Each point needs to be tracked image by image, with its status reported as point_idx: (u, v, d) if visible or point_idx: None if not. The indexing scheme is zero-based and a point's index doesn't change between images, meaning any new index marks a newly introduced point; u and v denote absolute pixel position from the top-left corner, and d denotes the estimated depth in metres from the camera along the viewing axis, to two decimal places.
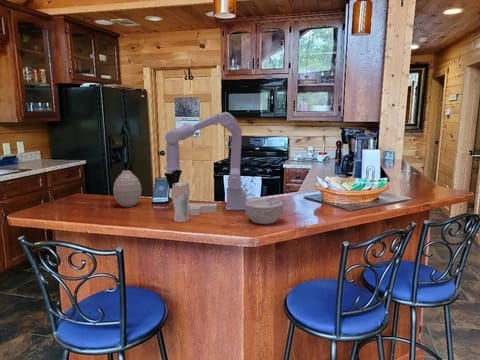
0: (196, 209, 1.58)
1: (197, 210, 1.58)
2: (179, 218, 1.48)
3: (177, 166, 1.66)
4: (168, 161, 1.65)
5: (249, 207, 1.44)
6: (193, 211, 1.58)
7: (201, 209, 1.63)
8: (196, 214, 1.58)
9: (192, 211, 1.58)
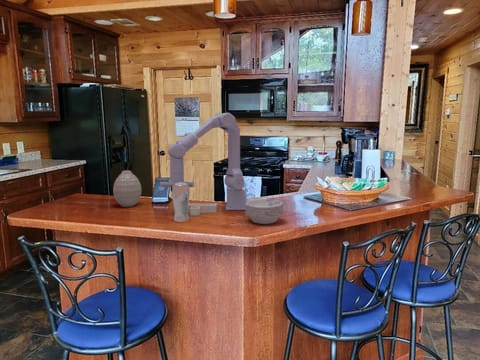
0: (196, 209, 1.58)
1: (197, 210, 1.58)
2: (179, 218, 1.48)
3: (172, 182, 1.56)
4: None
5: (249, 207, 1.44)
6: (193, 211, 1.58)
7: (201, 209, 1.63)
8: (196, 214, 1.58)
9: (192, 211, 1.58)
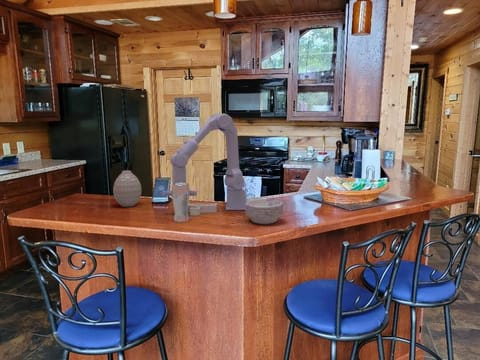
0: (196, 209, 1.58)
1: (197, 210, 1.58)
2: (179, 218, 1.48)
3: None
4: None
5: (249, 207, 1.44)
6: (193, 211, 1.58)
7: (201, 209, 1.63)
8: (196, 214, 1.58)
9: (192, 211, 1.58)
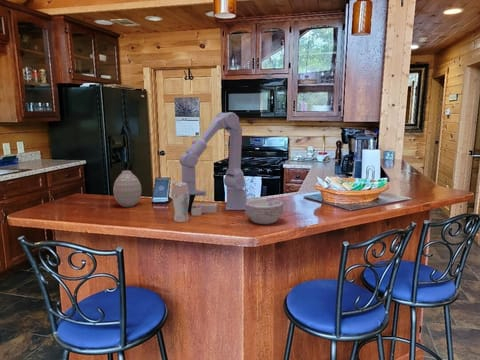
0: (198, 209, 1.58)
1: (199, 210, 1.58)
2: (179, 218, 1.48)
3: None
4: None
5: (249, 207, 1.44)
6: (195, 211, 1.58)
7: None
8: (198, 214, 1.58)
9: (194, 211, 1.58)
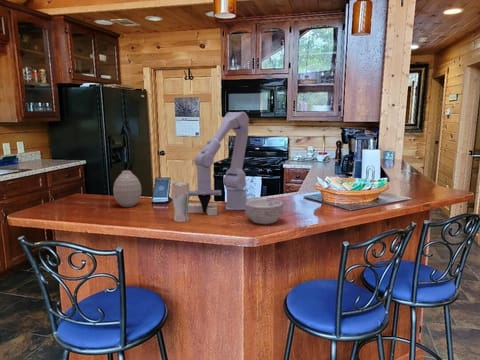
0: (213, 209, 1.58)
1: (214, 210, 1.58)
2: (179, 218, 1.48)
3: (200, 191, 1.56)
4: None
5: (249, 207, 1.44)
6: (210, 211, 1.58)
7: (201, 209, 1.63)
8: (213, 214, 1.58)
9: (209, 211, 1.58)
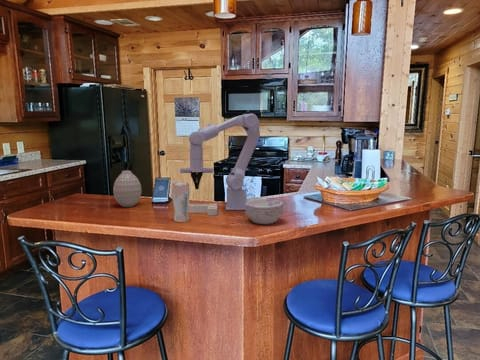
0: (213, 209, 1.58)
1: (214, 210, 1.58)
2: (179, 218, 1.48)
3: (192, 168, 1.62)
4: None
5: (249, 207, 1.44)
6: (210, 211, 1.58)
7: (201, 209, 1.63)
8: (213, 214, 1.58)
9: (209, 211, 1.58)
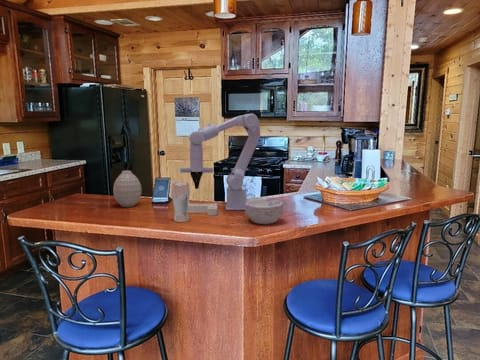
0: (213, 209, 1.58)
1: (214, 210, 1.58)
2: (179, 218, 1.48)
3: (192, 167, 1.63)
4: None
5: (249, 207, 1.44)
6: (210, 211, 1.58)
7: (201, 209, 1.63)
8: (213, 214, 1.58)
9: (209, 211, 1.58)
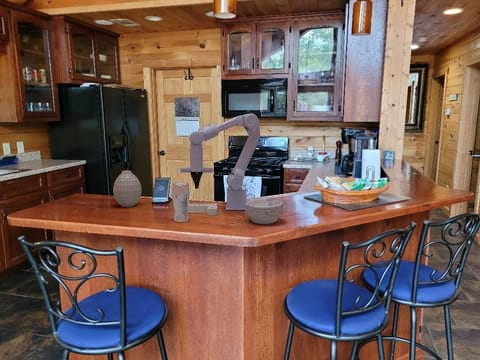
0: (213, 209, 1.58)
1: (214, 210, 1.58)
2: (179, 218, 1.48)
3: (192, 167, 1.63)
4: None
5: (249, 207, 1.44)
6: (210, 211, 1.58)
7: (201, 209, 1.63)
8: (213, 214, 1.58)
9: (209, 211, 1.58)
